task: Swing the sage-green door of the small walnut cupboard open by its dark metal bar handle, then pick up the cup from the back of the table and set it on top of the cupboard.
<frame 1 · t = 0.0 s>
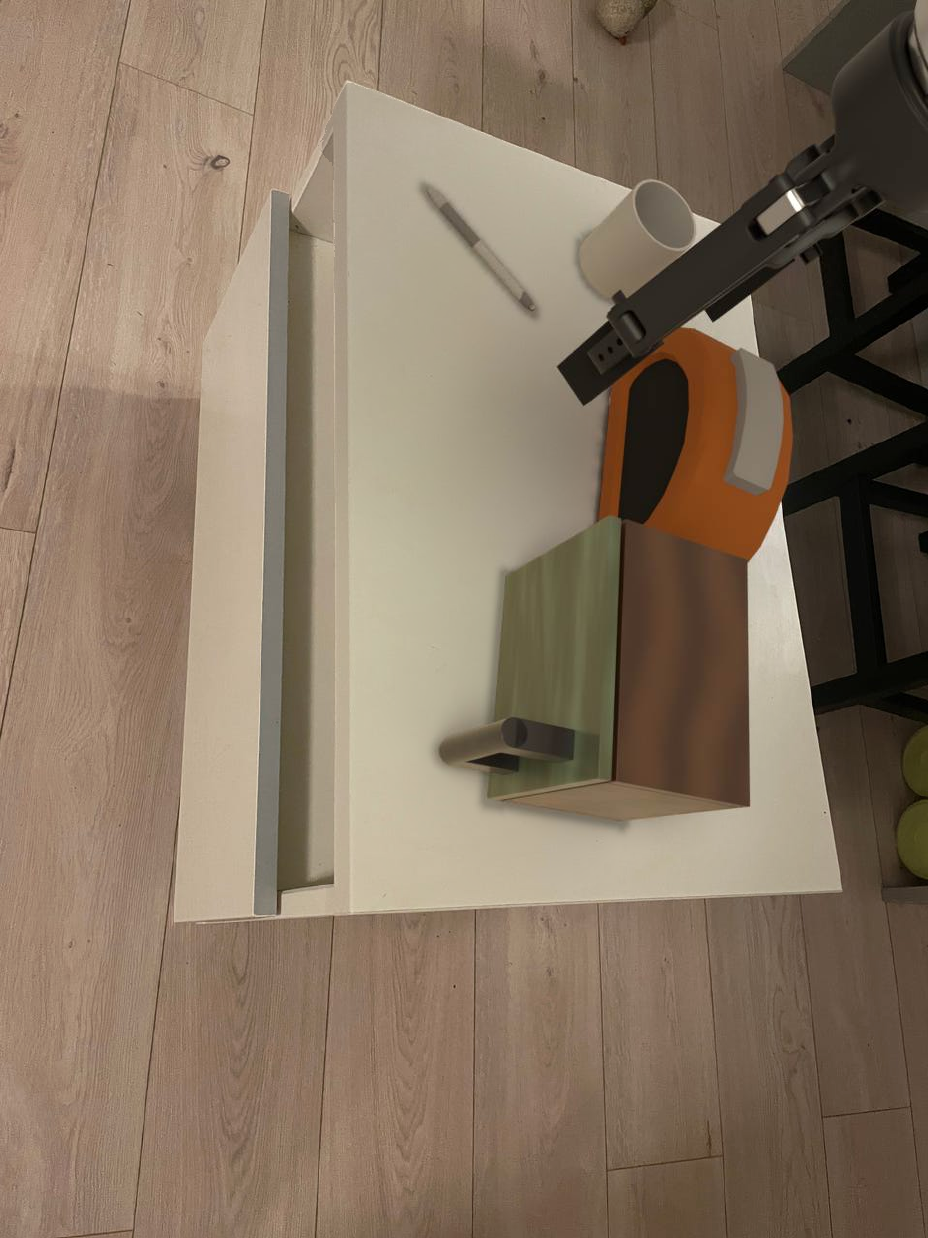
hand: (642, 341, 56), 23 cm above the table, tool pointing down, fingers open, 13 cm apart
cupboard door: (516, 657, 65), point 7 cm above the table, hinge at 0.0°
cupboard: (565, 700, 75), on the table
pen: (475, 256, 83), on the table
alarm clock: (631, 491, 85), on the table
cup: (606, 261, 91), on the table
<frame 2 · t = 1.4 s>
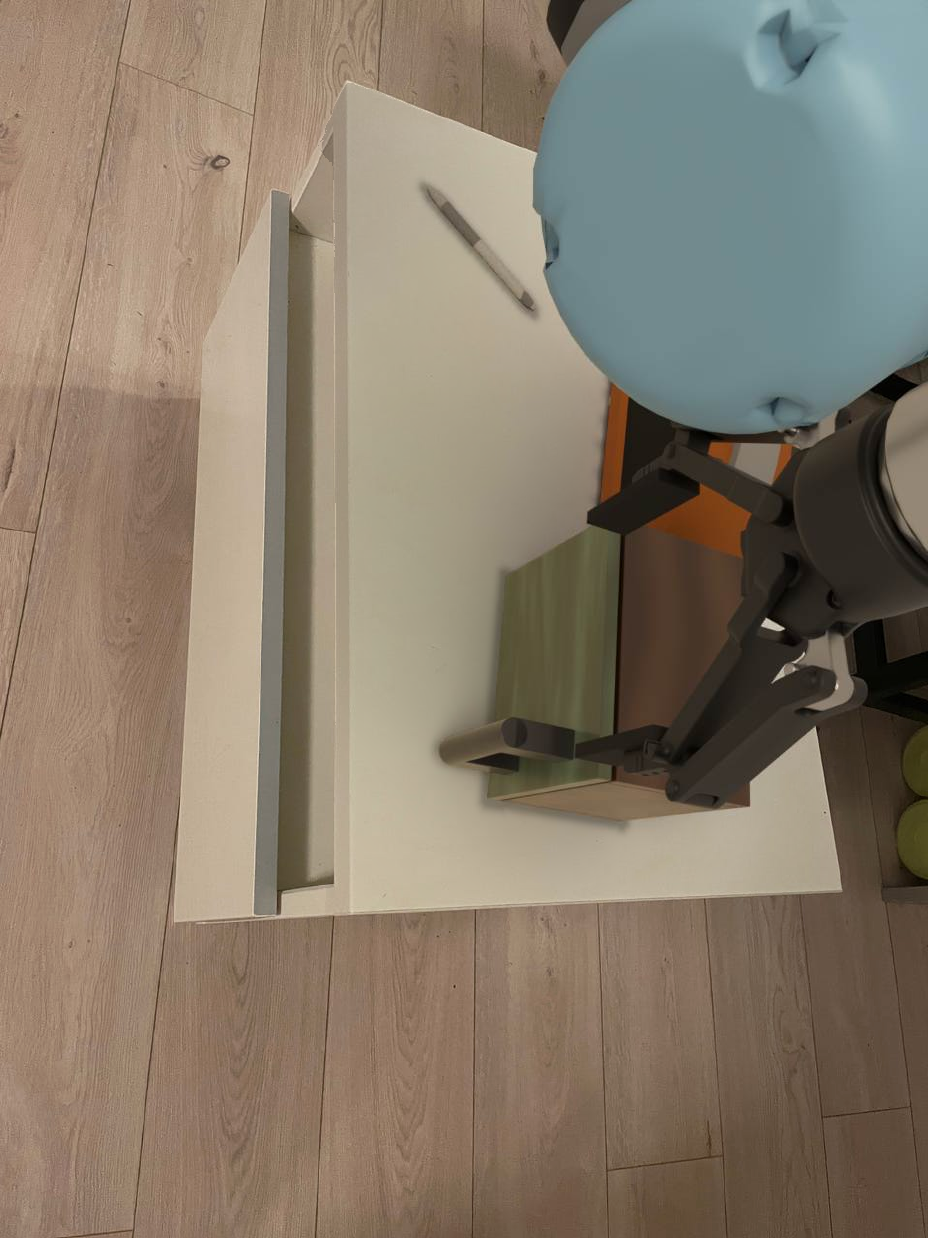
hand: (600, 634, 51), 21 cm above the table, tool pointing down, fingers open, 13 cm apart
nothing on the table moved.
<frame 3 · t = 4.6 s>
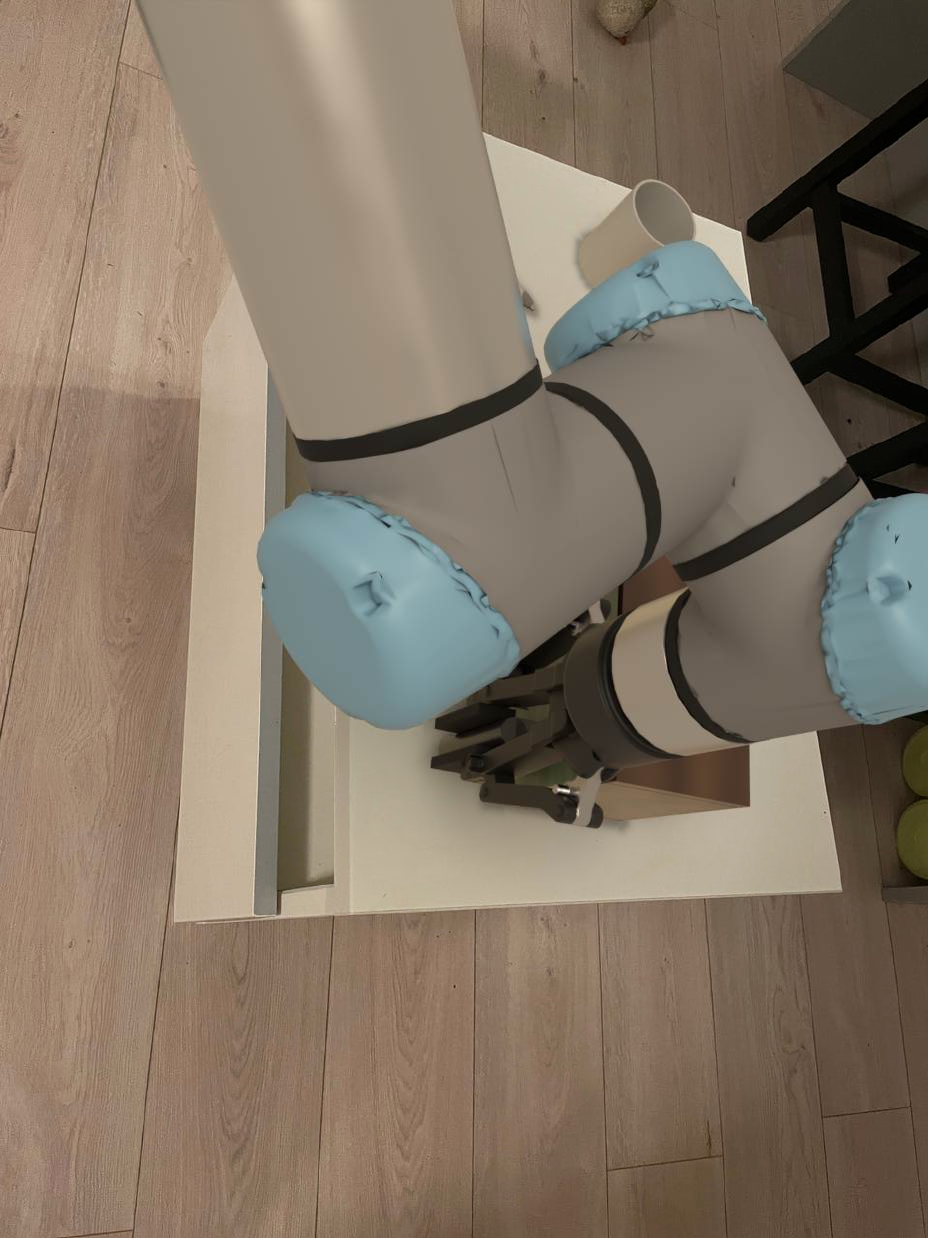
hand: (450, 746, 64), 4 cm above the table, tool pointing down, fingers closed on cupboard door, 2 cm apart
cupboard door: (516, 657, 65), point 7 cm above the table, hinge at 0.1°, touching gripper
everything else where it was.
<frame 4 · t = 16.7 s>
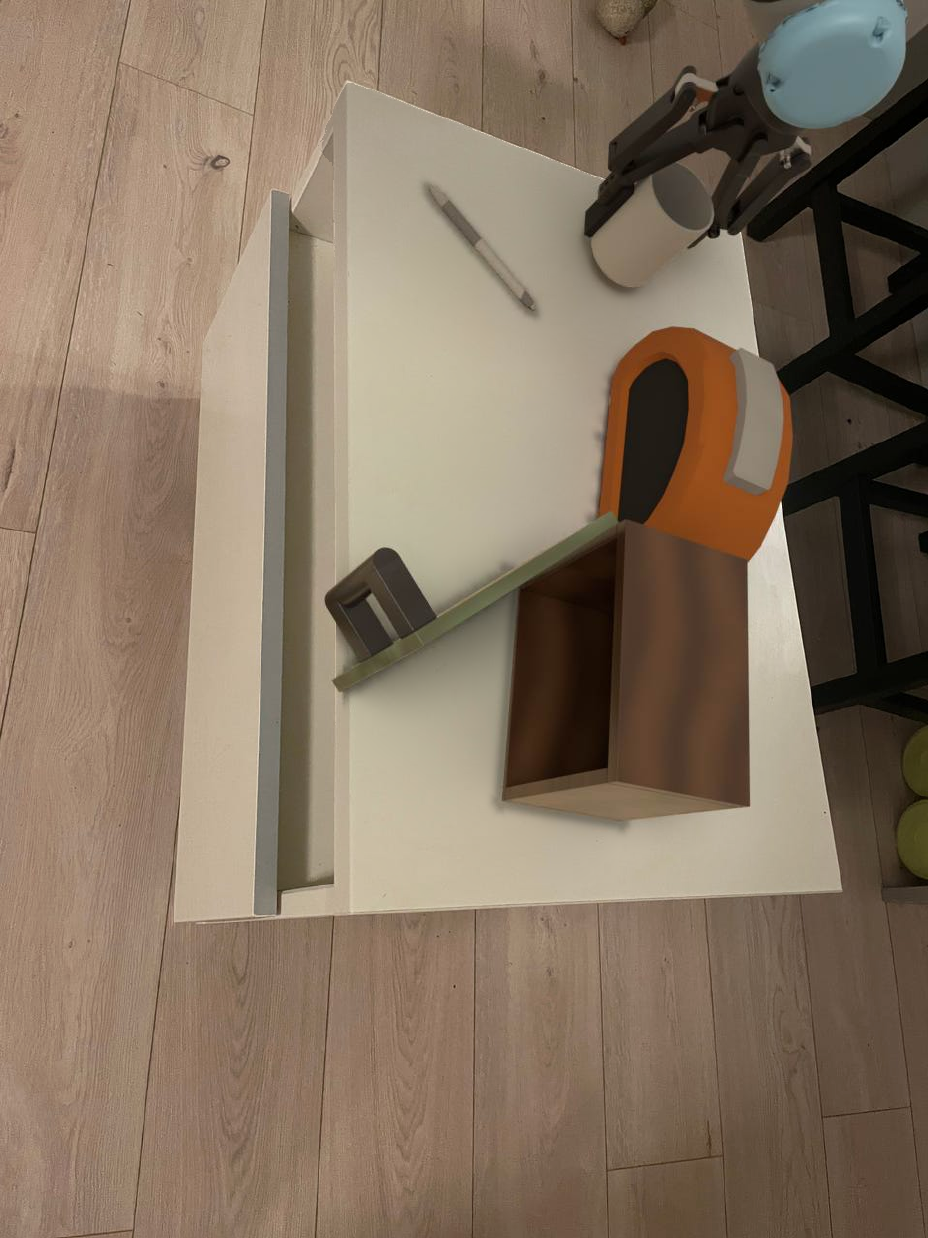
hand: (622, 241, 88), 3 cm above the table, tool pointing down, fingers closed on cup, 7 cm apart
cupboard door: (450, 570, 64), point 7 cm above the table, hinge at 48.3°
cup: (619, 245, 89), point 2 cm above the table, touching gripper
everything else where it was.
when the fingers open (15 cm above the table, at t = 23.5 s): cup stays where it is, resting on cupboard.
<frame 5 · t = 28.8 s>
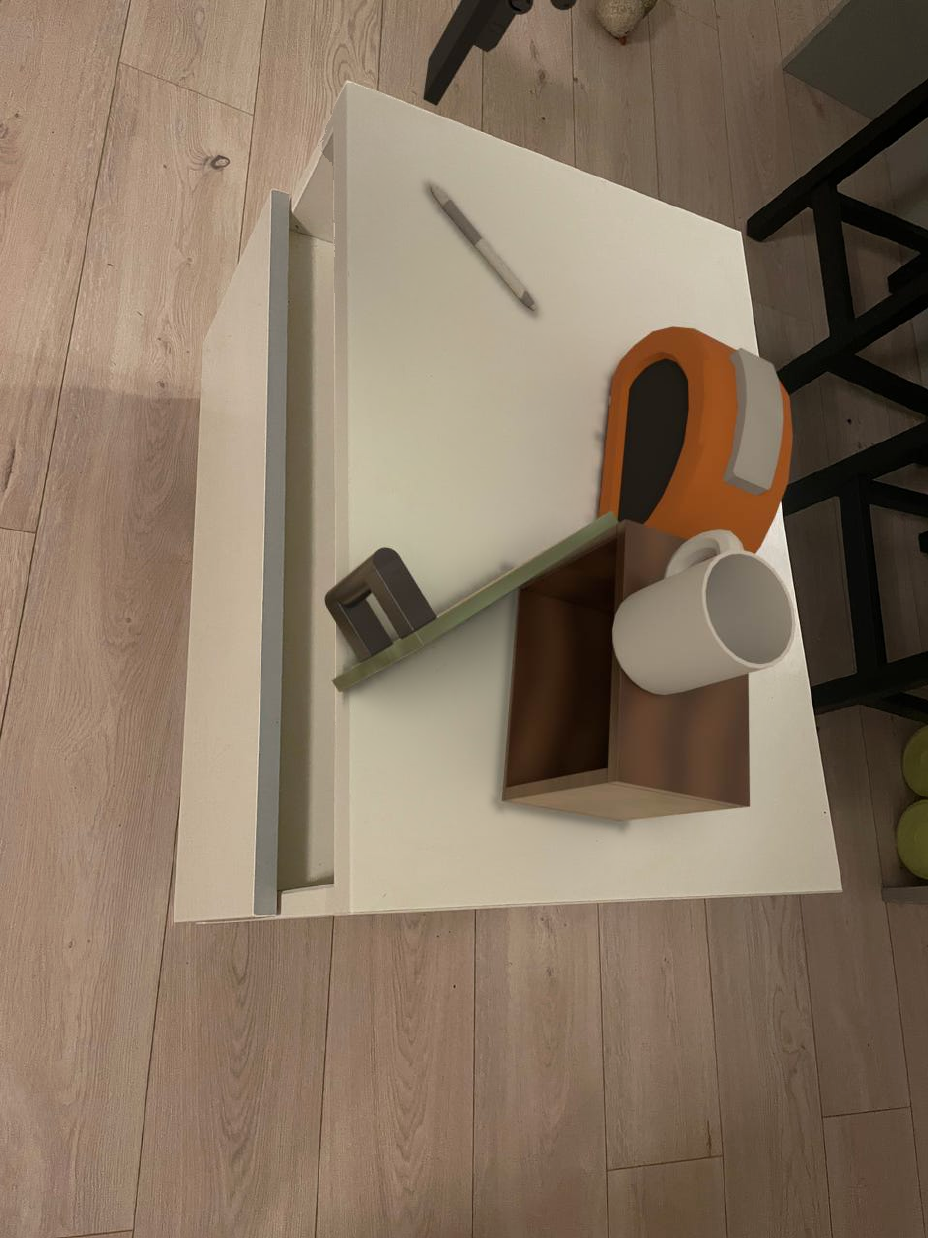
hand: (302, 15, 43), 29 cm above the table, tool pointing down, fingers open, 13 cm apart
cup: (652, 624, 62), point 15 cm above the table, touching cupboard
everything else where it was.
at the end: cupboard door at +48° (first picture: +0°); cup inside the target area on the cupboard (3.5 cm from its centre), point 14.8 cm above the cupboard's base; cup tilted 0° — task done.
